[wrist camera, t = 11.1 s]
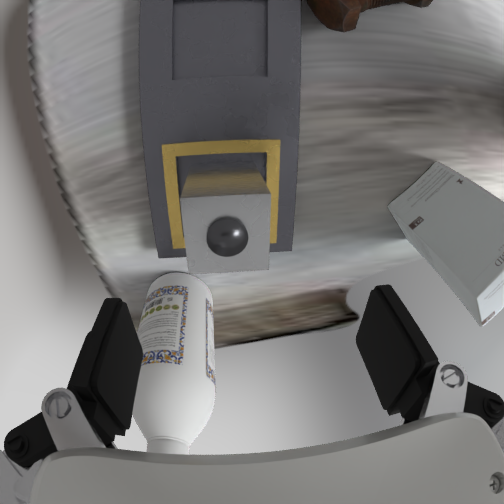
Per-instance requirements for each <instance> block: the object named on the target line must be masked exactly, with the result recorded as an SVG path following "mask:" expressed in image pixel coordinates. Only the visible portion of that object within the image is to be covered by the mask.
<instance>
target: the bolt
mask: <svg viewBox="0 0 504 504" xmlns="http://www.w3.org/2000/svg"><path fill="white" fill-rule="evenodd" d="M432 1H433V0H307V3H308V5H309V7H310V8H311V10H312V12H313V13H314V15H315V16H316V17H317V18H318V19H319V20H320V21H321V22H322V23H323V24H324V25H325V26H326V27H327V28H329V29H332V30H335V31H340V32H347V31H350V30H353V29H355V28H356V25H357V21H358V18H359V14H360V13H361V12H364V11H365V10H368V9H372V8H377V7H380V6H386V5H390V4H395V3H399V2H405V3H407V4H409V5H413V6H416V7H420V8H422V7H427V6H429V5H430V4H431V2H432Z"/></svg>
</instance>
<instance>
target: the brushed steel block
mask: <svg viewBox="0 0 504 504" xmlns="http://www.w3.org/2000/svg"><path fill="white" fill-rule="evenodd" d="M180 204H181V213H182V222H183V231H184V240H185V248H186V256H187V263H188V270H189V274H206V273H223V272H239V271H255V270H269V247H270V217H271V193H270V191H269V189H268V187H267V185H266V183H265V181H264V180H263V178H262V176H261V174H260V172H259V170H258V169H257V167H256V165H255V163H254V162H228V163H208V164H192V165H191V167H190V170H189V173H188V176H187V179H186V182H185V185H184V188H183V191H182V194H181V197H180Z"/></svg>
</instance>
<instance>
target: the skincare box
mask: <svg viewBox="0 0 504 504" xmlns="http://www.w3.org/2000/svg"><path fill="white" fill-rule="evenodd" d="M388 209H389V210H390V212H391V214H392V215H393V217H394V218H395V220H396V222H397V223H398V225H399V227H400V228H401V230H402V232H403V233H404V235H405V237H406V239H407V240H408V241H409V242H410V243H411V244H412V245H413V246H414V247H415V248H416V250H417V251H418V252H419V253H420V254H421V255H422V256H423V257H424V258H425V259H426V260H427V262H428V263H429V264H430V265H431V266H432V267H433V268H434V269H435V271H436V272H437V273H438V274H439V275H440V276H441V278H442V279H443V280H444V281H445V282H446V283H447V285H448V286H449V287H450V288H451V289H452V291H453V292H454V293H455V294H456V295H457V297H458V298H459V299H460V300H461V302H462V303H463V304H464V306H465V307H466V308H467V310H468V311H469V312H470V313H471V315H472V316H473V317H474V319H475V320H476V322H477V323H478V324H479V326H480V327H483V326H484V325H485V324H487V322H489V321H490V320H491V319H492V318H493V317H494V316H495V315H496V314H497V313H498V312H500V311H501V310H502V309H503V308H504V202H503V201H501V200H500V199H499V198H497V197H496V196H494V195H493V194H491V193H490V192H488V191H487V190H485V189H484V188H482V187H481V186H479V185H477V184H476V183H474V182H473V181H471V180H469V179H468V178H466V177H464V176H463V175H461V174H459V173H458V172H456V171H454V170H452V169H451V168H449V167H447V166H445V165H443V164H442V163H440V162H435V163H434V164H433V165H432V166H431V167H430V168H429V169H428V170H427V171H426V172H425V173H424V174H423V175H422V176H421V177H420V178H419V179H418V180H417V181H416V182H415V183H414V184H413V185H411V186H410V187H409V188H408V189H407V190H406V191H405V192H403V193H402V194H401V195H400V196H399V197H397V198H396V199H395V200H393V201H392V202H391V203H390V204H389V205H388Z"/></svg>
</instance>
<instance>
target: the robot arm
mask: <svg viewBox="0 0 504 504" xmlns="http://www.w3.org/2000/svg"><path fill="white" fill-rule="evenodd" d="M356 344H357V347H358V349H359V351H360V354H361V356H362V358H363V361H364V363H365V365H366V368H367V370H368V372H369V375H370V377H371V380H372V382H373V385H374V387H375V390H376V392H377V395H378V397H379V400H380V402H381V405H382V407H383V409H384V410H387V412H388V414H389V416H390V415H393V414H396V413H401V416H402V420H401V422H400V425H399V426H397V427H393V428H390V429H386V430H383V431H379V432H376V433H372V434H368V435H364V436H360V437H356V438H352V439H347V440H343V441H338V442H333V443H328V444H322V445H317V446H311V447H304V448H298V449H290V450H282V451H274V452H264V453H250V454H231V455H230V454H229V455H185V454H166V453H151V452H139V451H130V450H121V449H117V447H116V445H115V444H114V442H113V441H114V439H115V435H121V436H125V431H126V429H129V428H130V424H131V418H132V412H133V406H134V401H135V395H136V390H137V384H138V379H139V374H140V369H141V364H142V360H143V349H142V346H141V344H140V341H139V338H138V336H137V333H136V330H135V327H134V325H133V322H132V319H131V316H130V313H129V310H128V307H127V304H126V303H125V302H122V300H121V299H120V298H106V299H105V300H104V302H103V305H102V307H101V309H100V311H99V314H98V316H97V319H96V321H95V323H94V326H93V328H92V331H90V332H89V333H88V334H87V336H86V338H85V341H84V343H83V346H82V348H81V351H80V354H79V356H78V359H77V362H76V364H75V367H74V370H73V372H72V375H71V378H70V381H69V384H68V387H67V389H65V388H56V389H54V390H51V391H50V392H49V393H47V395H46V396H45V397H44V399H43V401H42V407H41V409H42V412H41V413H39V414H37V415H36V416H34V417H32V418H31V419H29V420H27V421H26V422H24V423H22V424H21V425H19V426H17V427H16V428H14V429H13V430H11V431H10V432H9V433H8V434H7V436H6V437H5V441H4V449H5V450H4V451H3V452H2V451H1V450H0V504H504V402H503V400H502V399H501V397H500V396H499V395H497V394H496V393H493V392H491V391H488V390H486V389H484V388H481V387H479V386H477V385H474V384H472V383H470V382H468V377H467V374H466V371H465V370H464V368H463V367H462V366H460V365H459V364H458V363H455V362H452V361H445V362H443V363H441V364H440V363H439V362H438V358H437V356H436V354H435V353H434V351H433V350H432V348H431V346H430V344H429V343H428V341H427V340H426V338H425V336H424V335H423V333H422V331H421V330H420V328H419V327H418V325H417V324H416V322H415V321H414V319H413V317H412V316H411V314H410V313H409V311H408V310H407V308H406V307H405V305H404V304H403V302H402V301H401V300H400V298H399V296H398V295H397V294H396V292H395V291H394V289H393V288H392V286H391V285H379V286H376V287H375V288H374V290H372V291H371V292H370V296H369V299H368V302H367V305H366V309H365V312H364V315H363V318H362V321H361V324H360V327H359V330H358V333H357V336H356Z"/></svg>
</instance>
